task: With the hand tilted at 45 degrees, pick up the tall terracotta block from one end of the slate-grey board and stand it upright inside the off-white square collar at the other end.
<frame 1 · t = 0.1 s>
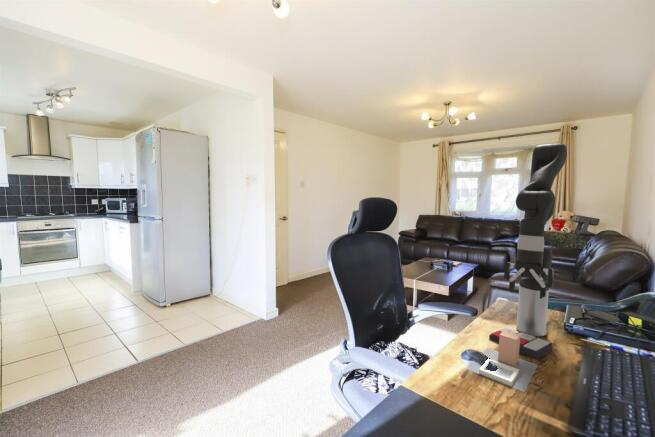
hand: (526, 295, 104), 17 cm above the table, tool pointing down, fingers open, 8 cm apart
pillar block: (508, 360, 92), point 1 cm above the table, touching build board
build board: (503, 371, 88), on the table
calculator: (519, 349, 102), on the table
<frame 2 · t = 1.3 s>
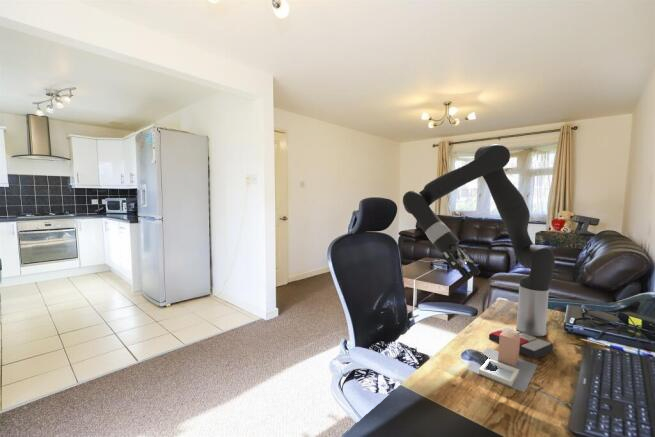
hand: (473, 276, 98), 25 cm above the table, tool tilted 45°, fingers open, 8 cm apart
nothing on the table moved.
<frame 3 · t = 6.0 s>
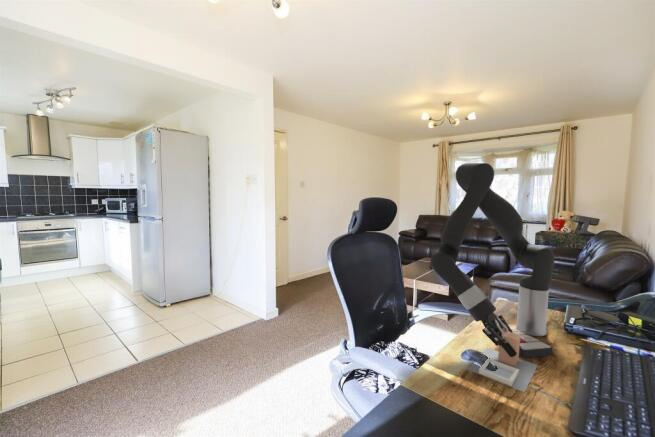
hand: (516, 352, 90), 4 cm above the table, tool tilted 45°, fingers closed on pillar block, 4 cm apart
pillar block: (508, 360, 92), point 1 cm above the table, touching build board, gripper
when the fingers open (6 cm above the table, at t = 11.8 s): pillar block drops 2 cm, resting on build board.
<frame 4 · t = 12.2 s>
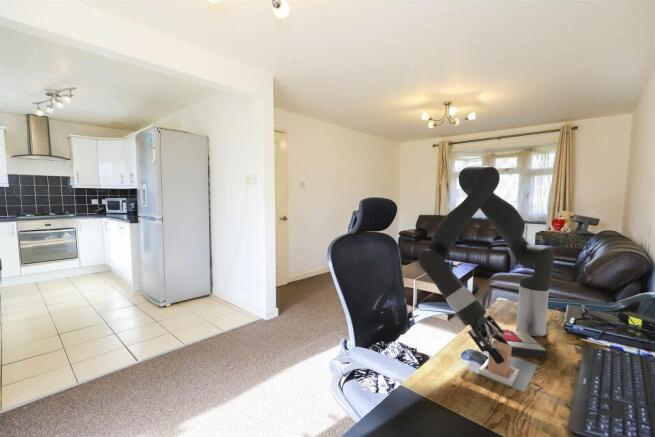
hand: (505, 356, 83), 7 cm above the table, tool tilted 45°, fingers open, 8 cm apart
pillar block: (498, 372, 85), point 1 cm above the table, touching build board
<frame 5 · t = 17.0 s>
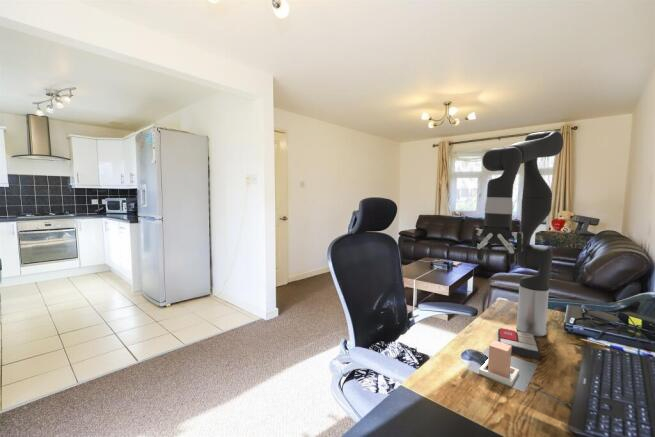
hand: (495, 262, 95), 30 cm above the table, tool pointing down, fingers open, 8 cm apart
at the end: pillar block 0.1 cm from the target spot on the build board, point 1.3 cm above the build board's base; pillar block tilted 0°; the gripper is holding nothing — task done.
